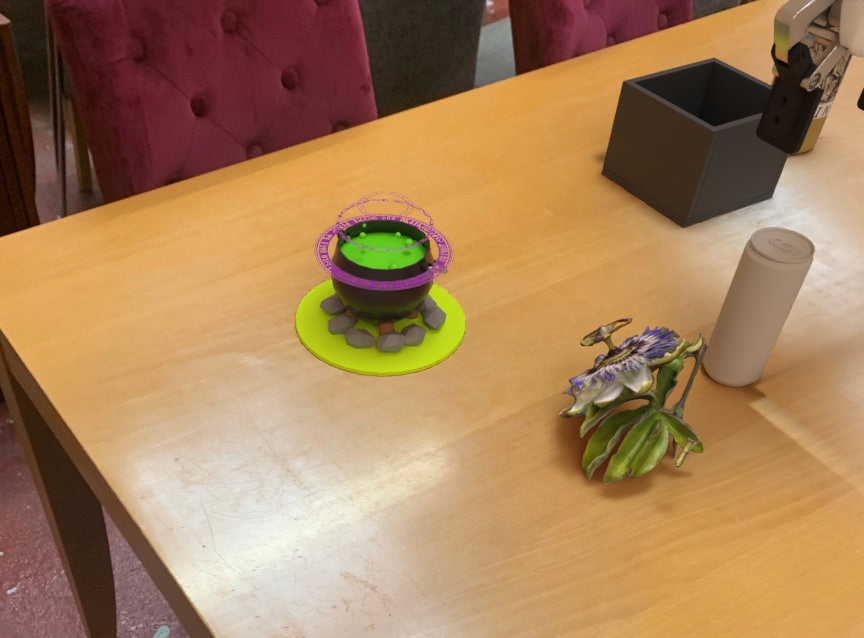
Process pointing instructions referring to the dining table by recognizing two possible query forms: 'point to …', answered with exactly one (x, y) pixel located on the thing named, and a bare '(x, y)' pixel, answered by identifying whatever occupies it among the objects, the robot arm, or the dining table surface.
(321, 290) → the toy cauldron
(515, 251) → the dining table surface
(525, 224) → the dining table surface
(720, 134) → the bin
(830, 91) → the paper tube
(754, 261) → the beverage can
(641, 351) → the passion flower
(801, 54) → the robot arm
